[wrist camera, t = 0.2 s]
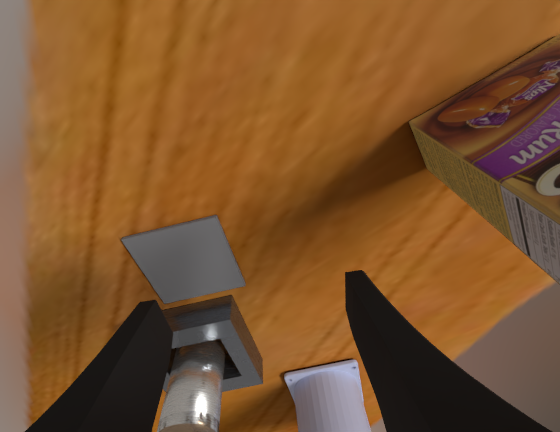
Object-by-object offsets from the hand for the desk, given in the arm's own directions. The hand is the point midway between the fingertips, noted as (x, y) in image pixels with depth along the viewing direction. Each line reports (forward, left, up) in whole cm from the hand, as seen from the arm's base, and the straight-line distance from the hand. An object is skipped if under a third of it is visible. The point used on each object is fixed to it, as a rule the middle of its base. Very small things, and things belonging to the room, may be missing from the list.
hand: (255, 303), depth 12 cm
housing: (-15, +9, -10) cm, 20 cm away
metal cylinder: (-15, +9, -10) cm, 20 cm away
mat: (-5, +7, -10) cm, 13 cm away
